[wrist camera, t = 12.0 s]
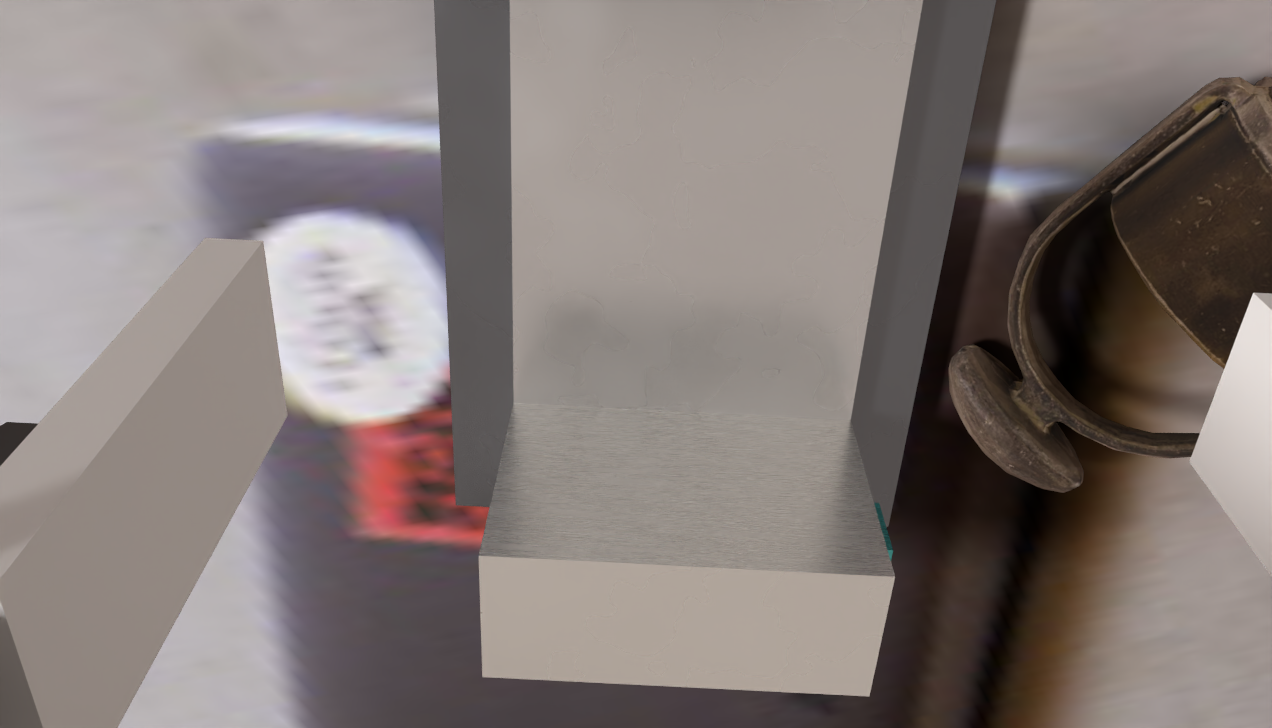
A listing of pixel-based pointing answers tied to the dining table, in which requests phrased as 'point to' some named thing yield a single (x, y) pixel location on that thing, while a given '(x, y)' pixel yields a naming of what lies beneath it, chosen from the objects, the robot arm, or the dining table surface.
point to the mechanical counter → (1167, 263)
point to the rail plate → (693, 321)
